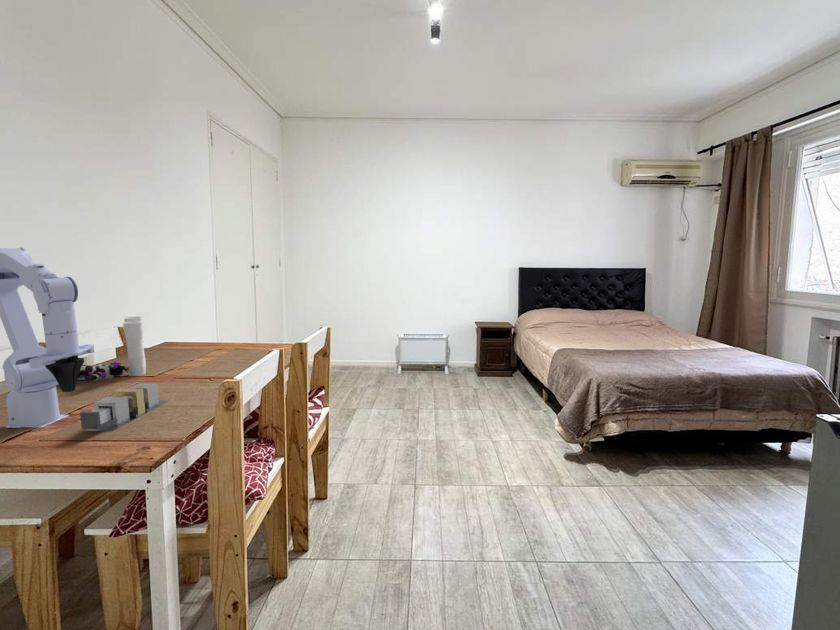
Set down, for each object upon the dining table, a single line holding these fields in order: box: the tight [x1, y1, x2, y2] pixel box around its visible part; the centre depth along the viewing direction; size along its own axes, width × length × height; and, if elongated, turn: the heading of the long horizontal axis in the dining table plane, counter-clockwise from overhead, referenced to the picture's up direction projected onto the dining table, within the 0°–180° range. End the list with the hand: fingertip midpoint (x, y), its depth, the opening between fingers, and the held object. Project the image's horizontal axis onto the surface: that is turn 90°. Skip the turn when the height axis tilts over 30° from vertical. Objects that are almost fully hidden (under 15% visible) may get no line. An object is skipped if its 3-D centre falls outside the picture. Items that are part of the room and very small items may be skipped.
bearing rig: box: [83, 382, 169, 432], centre depth 113 cm, size 7×21×6 cm, turn 175°
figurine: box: [76, 361, 130, 384], centre depth 144 cm, size 24×7×29 cm
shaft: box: [79, 391, 145, 430], centre depth 110 cm, size 4×19×4 cm, turn 175°
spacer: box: [111, 387, 145, 417], centre depth 113 cm, size 6×2×6 cm, turn 85°
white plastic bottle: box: [122, 315, 147, 377], centre depth 156 cm, size 17×5×18 cm, turn 31°
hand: (68, 391), depth 101 cm, fingers closed
